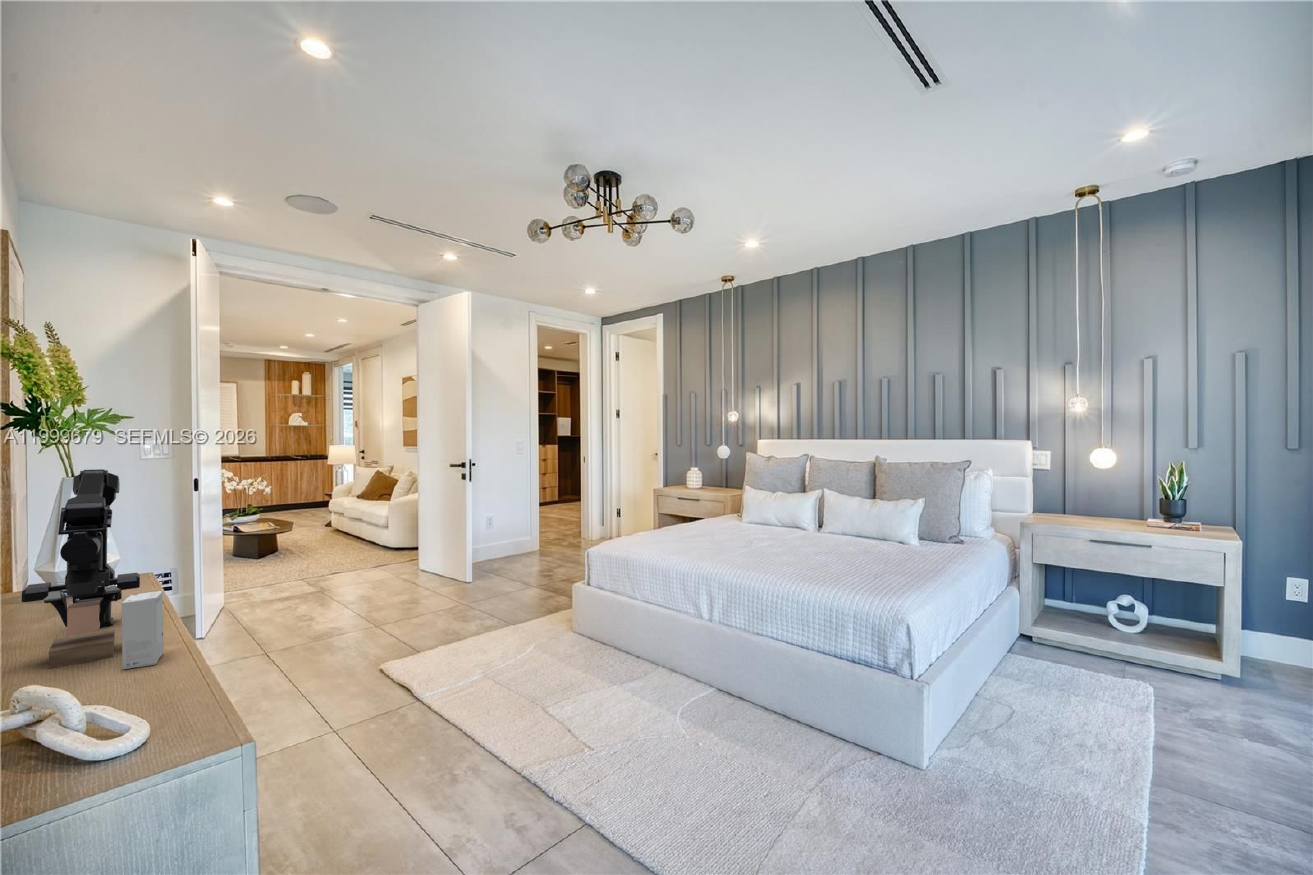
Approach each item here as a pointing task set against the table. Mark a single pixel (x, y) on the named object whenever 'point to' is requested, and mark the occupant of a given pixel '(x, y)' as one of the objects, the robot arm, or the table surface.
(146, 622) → the skincare box
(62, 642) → the block
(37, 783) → the table surface
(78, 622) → the terracotta block
